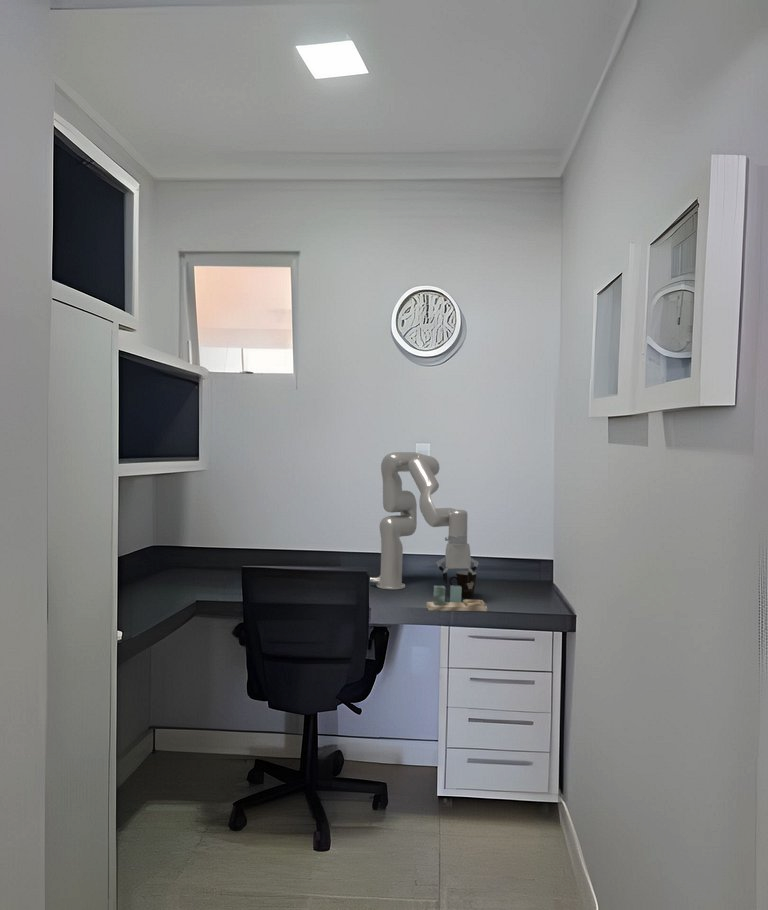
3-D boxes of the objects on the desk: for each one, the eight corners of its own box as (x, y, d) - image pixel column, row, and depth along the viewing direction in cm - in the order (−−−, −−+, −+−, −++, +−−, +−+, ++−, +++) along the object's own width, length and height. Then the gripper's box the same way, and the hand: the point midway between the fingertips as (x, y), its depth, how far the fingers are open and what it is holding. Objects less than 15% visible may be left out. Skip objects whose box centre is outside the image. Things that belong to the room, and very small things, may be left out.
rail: (428, 610, 313) (429, 588, 313) (426, 605, 321) (427, 584, 321) (487, 611, 315) (487, 589, 314) (483, 606, 323) (484, 585, 322)
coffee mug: (474, 594, 346) (475, 571, 345) (476, 598, 337) (477, 575, 337) (447, 593, 346) (448, 570, 345) (449, 598, 337) (449, 574, 337)
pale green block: (461, 604, 325) (461, 587, 325) (451, 604, 325) (451, 587, 325) (459, 602, 330) (459, 585, 330) (449, 602, 330) (450, 585, 329)
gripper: (437, 541, 322) (437, 584, 322) (480, 541, 323) (480, 584, 323) (435, 539, 329) (434, 580, 329) (477, 539, 330) (476, 580, 331)
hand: (457, 582), depth 326 cm, fingers open, 9 cm apart
